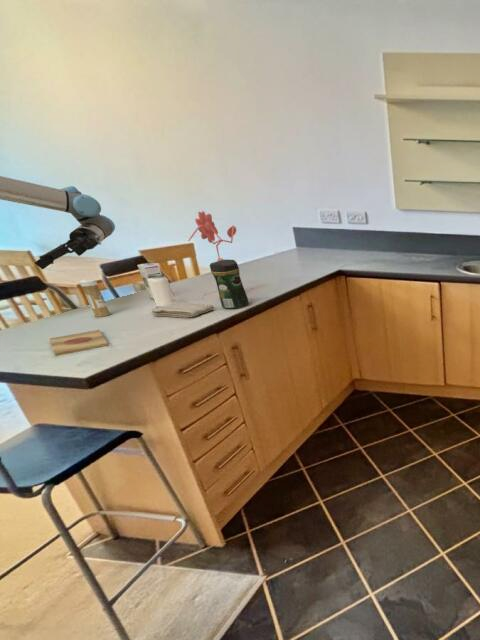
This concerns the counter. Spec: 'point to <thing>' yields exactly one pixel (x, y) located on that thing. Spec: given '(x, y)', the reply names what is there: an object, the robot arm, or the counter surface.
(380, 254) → the counter surface
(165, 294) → the can
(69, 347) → the mat
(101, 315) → the sprinkles bottle
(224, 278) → the coffee jar
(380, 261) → the counter surface
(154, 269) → the syrup box
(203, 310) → the washcloth
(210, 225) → the red flower
